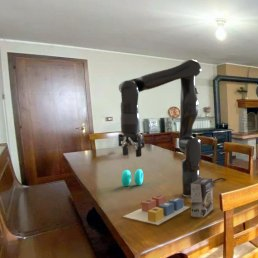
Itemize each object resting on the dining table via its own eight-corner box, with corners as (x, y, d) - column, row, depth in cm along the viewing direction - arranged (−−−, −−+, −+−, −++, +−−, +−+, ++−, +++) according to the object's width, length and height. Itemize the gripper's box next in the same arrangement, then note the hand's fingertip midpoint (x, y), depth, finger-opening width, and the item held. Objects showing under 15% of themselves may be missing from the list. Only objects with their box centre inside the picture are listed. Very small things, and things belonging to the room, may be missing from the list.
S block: (156, 216, 111) (155, 206, 111) (163, 217, 110) (163, 208, 109) (147, 220, 107) (147, 210, 107) (155, 222, 106) (155, 212, 105)
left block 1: (149, 207, 121) (149, 198, 120) (156, 208, 119) (155, 199, 119) (141, 210, 117) (141, 201, 116) (148, 212, 115) (148, 203, 115)
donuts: (140, 187, 150) (139, 171, 149) (121, 188, 147) (120, 172, 146) (144, 182, 159) (143, 167, 158) (126, 183, 156) (125, 168, 155)
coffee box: (203, 218, 111) (203, 184, 109) (190, 217, 112) (190, 183, 110) (213, 210, 120) (212, 178, 118) (201, 209, 121) (200, 177, 119)
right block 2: (176, 205, 123) (176, 197, 122) (183, 207, 121) (183, 198, 121) (169, 209, 119) (169, 200, 118) (176, 210, 117) (176, 201, 117)
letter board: (157, 201, 129) (157, 200, 128) (189, 208, 122) (189, 207, 122) (122, 217, 111) (122, 216, 111) (158, 226, 104) (158, 224, 104)
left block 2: (159, 202, 126) (159, 194, 126) (166, 203, 125) (165, 195, 124) (152, 205, 122) (151, 197, 122) (159, 207, 121) (158, 198, 120)
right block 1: (166, 210, 117) (166, 201, 117) (174, 212, 116) (173, 203, 115) (159, 214, 113) (158, 205, 113) (166, 216, 112) (166, 206, 111)
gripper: (148, 122, 118) (149, 155, 120) (126, 121, 123) (128, 153, 125) (134, 124, 111) (135, 158, 113) (111, 122, 116) (113, 156, 118)
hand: (132, 155), depth 119 cm, fingers open, 8 cm apart
